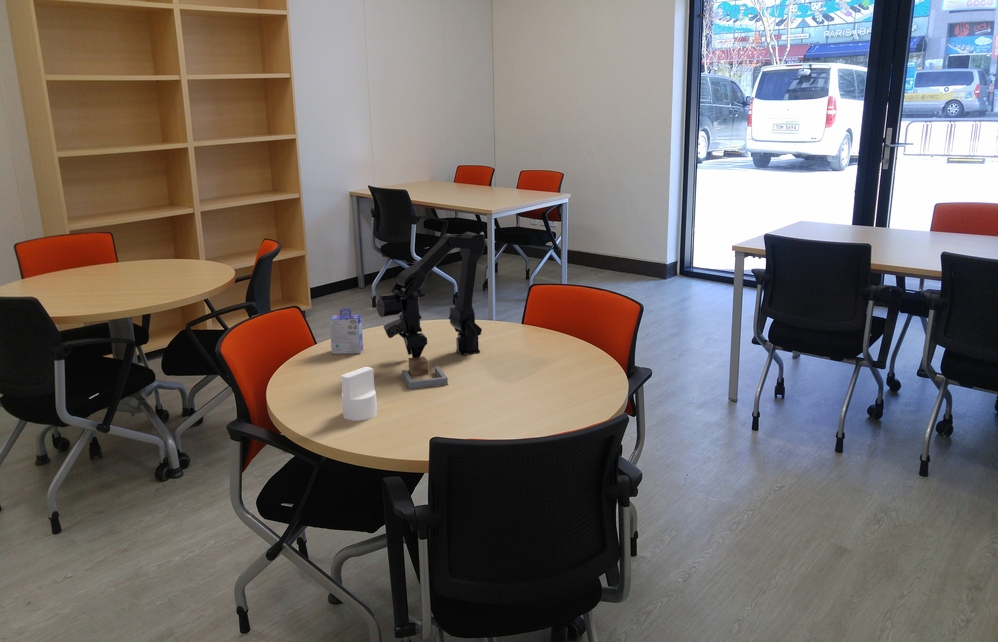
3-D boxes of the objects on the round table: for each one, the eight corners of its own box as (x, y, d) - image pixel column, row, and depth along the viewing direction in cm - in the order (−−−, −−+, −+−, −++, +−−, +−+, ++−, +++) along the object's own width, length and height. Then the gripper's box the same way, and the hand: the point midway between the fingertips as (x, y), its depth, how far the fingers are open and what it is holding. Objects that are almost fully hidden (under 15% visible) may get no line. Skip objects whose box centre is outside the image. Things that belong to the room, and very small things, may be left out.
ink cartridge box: (364, 348, 256) (361, 307, 252) (361, 354, 251) (358, 312, 247) (335, 349, 256) (331, 307, 252) (331, 354, 251) (328, 312, 247)
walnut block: (424, 368, 237) (424, 356, 236) (428, 373, 232) (427, 361, 231) (409, 370, 235) (408, 358, 234) (412, 375, 231) (411, 363, 230)
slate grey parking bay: (438, 371, 234) (438, 365, 233) (447, 384, 223) (447, 378, 223) (402, 376, 230) (401, 370, 230) (409, 389, 220) (409, 382, 219)
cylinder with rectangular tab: (362, 404, 209) (359, 363, 206) (384, 412, 204) (381, 370, 201) (336, 415, 203) (332, 373, 199) (358, 423, 197) (355, 380, 194)
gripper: (379, 306, 243) (382, 352, 247) (390, 322, 226) (392, 371, 230) (414, 303, 246) (416, 348, 250) (426, 318, 229) (428, 367, 233)
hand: (412, 358), depth 241 cm, fingers open, 9 cm apart
